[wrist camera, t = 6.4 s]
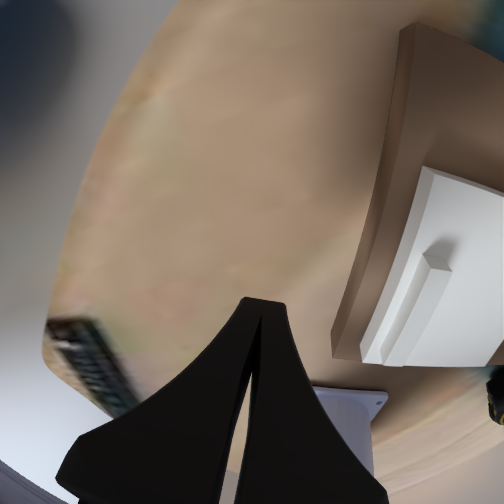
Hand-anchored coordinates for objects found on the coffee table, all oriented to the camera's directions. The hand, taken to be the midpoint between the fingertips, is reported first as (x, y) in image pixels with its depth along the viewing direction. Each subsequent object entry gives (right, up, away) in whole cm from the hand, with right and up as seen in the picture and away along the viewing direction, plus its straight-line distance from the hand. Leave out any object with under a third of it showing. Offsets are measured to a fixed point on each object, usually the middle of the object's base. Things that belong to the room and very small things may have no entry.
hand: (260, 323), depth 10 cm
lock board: (+14, +3, +3) cm, 14 cm away
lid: (+9, +1, +2) cm, 10 cm away
